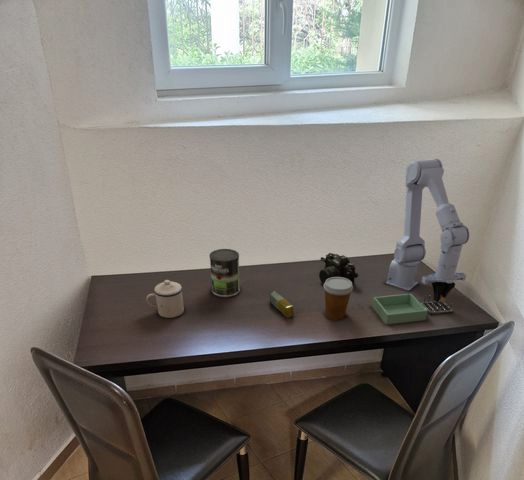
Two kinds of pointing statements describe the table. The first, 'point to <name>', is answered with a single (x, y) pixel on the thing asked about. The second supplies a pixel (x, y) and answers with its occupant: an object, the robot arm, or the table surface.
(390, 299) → the green open tray
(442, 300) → the dish rack
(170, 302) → the teacup with lid
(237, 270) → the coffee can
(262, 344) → the table surface
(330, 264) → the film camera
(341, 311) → the disposable coffee cup
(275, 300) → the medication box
